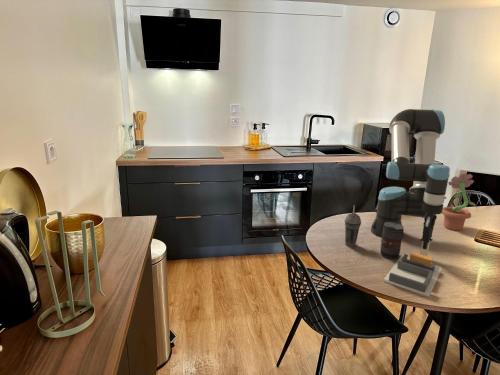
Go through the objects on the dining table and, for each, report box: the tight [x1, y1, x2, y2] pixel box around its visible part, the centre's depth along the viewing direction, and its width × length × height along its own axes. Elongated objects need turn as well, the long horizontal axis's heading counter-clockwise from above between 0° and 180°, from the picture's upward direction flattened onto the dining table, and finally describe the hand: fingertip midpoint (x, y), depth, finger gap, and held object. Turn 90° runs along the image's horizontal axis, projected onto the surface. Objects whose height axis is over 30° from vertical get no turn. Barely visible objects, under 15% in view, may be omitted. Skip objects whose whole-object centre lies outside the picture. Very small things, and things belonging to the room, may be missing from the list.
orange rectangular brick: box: [409, 251, 434, 266], centre depth 144 cm, size 8×3×3 cm, turn 53°
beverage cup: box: [344, 204, 362, 248], centre depth 158 cm, size 7×7×20 cm
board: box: [383, 254, 443, 298], centre depth 136 cm, size 16×24×4 cm, turn 143°
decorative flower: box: [441, 173, 477, 231], centre depth 178 cm, size 15×14×30 cm
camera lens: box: [380, 222, 404, 260], centre depth 148 cm, size 8×8×15 cm
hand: (423, 254), depth 148 cm, fingers closed
